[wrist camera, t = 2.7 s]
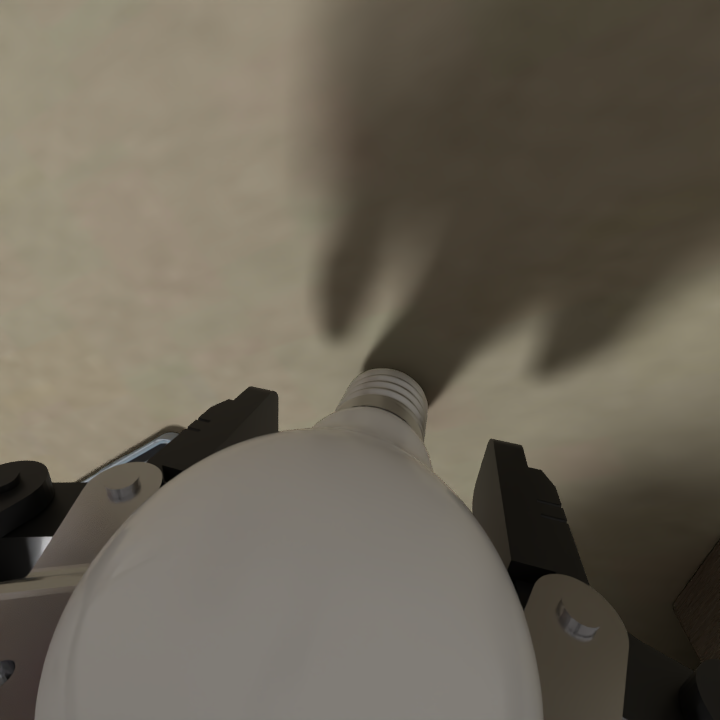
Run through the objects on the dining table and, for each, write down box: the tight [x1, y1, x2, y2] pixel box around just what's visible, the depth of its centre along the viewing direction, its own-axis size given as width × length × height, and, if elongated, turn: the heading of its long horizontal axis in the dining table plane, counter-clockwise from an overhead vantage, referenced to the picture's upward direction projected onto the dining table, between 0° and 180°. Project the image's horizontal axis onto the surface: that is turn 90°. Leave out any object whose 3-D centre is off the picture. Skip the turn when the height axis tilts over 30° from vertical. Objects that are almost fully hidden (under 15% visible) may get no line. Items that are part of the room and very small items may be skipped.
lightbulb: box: [34, 368, 544, 720], centre depth 8 cm, size 6×6×11 cm
